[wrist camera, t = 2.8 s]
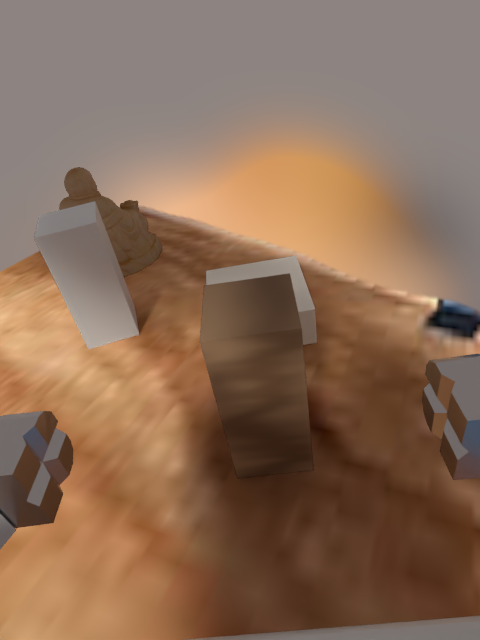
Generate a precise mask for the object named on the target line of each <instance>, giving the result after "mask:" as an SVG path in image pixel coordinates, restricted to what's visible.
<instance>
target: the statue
mask: <svg viewBox="0 0 480 640" xmlns="http://www.w3.org/2000/svg"><path fill="white" fill-rule="evenodd" d="M64 184H65V188H66V191H67V192H68V194H69V197H67V198H64V199H63V200H62V201H61V203H60V207H59V209H60V210H62V209H66V208H70V207H74V206H78V205H82V204H86V203H90V202H94V201H95V202H96V205H97V207H98V210H99V213H100V215H101V218H102V221H103V223H104V226H105V229H106V231H107V234H108V237H109V239H110V242H111V245H112V247H113V250H114V253H115V255H116V258H117V261H118V263H119V266H120V269H121V271H122V274H123V277H125V276H128V275H130V274H133V273H136V272H138V271H140V270H142V269H144V268H145V267H147V266H149V265H151V264H152V263H153V262H154V261H155V260H157V258H158V257H159V255H160V254H159V253H161V251H162V247H161V244H160V242H159V240H158V238H157V236H156V235H155V234H151V233H150V232H148V222H147V219H146V217H145V216H144V215H142V214H140V212H139V208H138V201H131V200H128V201H125V202H124V203H121V204H120V208H119V207H118V206H117V205H116V204H115V203H114V202H113V201H112V200H110V199H109V198H106V197H103V196H101V194H100V193H99V191H97V186H96V184H95V181H94V180H93V178H92V175H91V174H90V172H89V171H87V170H86V169H84V168H80V167H78V168H74V169H71V170H70V171H69V172H68V173H67V175H66V177H65V181H64Z"/></svg>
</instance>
